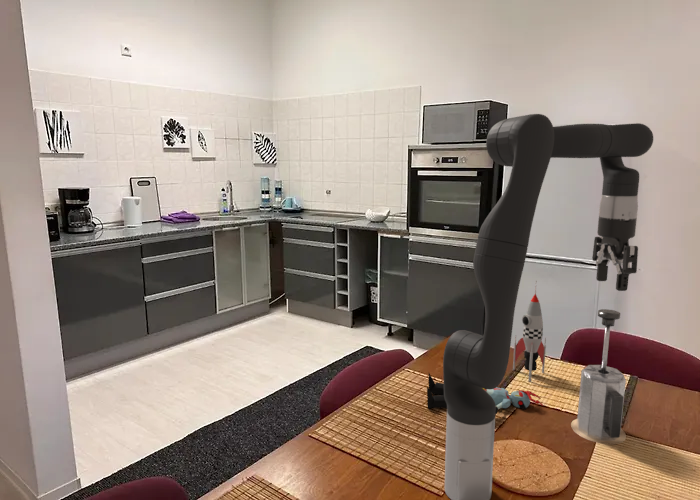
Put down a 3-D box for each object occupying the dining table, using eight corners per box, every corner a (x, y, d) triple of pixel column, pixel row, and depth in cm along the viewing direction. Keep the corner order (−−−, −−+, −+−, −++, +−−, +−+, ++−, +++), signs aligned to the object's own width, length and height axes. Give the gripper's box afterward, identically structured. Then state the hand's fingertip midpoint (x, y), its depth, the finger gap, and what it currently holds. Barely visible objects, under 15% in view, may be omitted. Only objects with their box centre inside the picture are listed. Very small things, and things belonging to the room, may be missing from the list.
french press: (634, 447, 112) (641, 385, 110) (593, 447, 112) (599, 386, 110) (607, 420, 124) (613, 363, 121) (570, 420, 124) (574, 364, 121)
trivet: (636, 446, 114) (636, 443, 114) (585, 446, 114) (585, 444, 114) (609, 419, 126) (609, 417, 125) (562, 419, 126) (562, 417, 125)
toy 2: (510, 369, 155) (516, 277, 150) (533, 366, 158) (539, 275, 152) (529, 382, 147) (535, 285, 141) (552, 378, 149) (559, 282, 144)
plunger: (622, 391, 114) (630, 316, 111) (595, 391, 114) (602, 316, 111) (608, 379, 121) (615, 308, 117) (582, 379, 121) (588, 308, 117)
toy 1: (429, 359, 148) (534, 362, 142) (430, 383, 150) (534, 387, 144) (425, 399, 124) (551, 405, 118) (426, 427, 125) (551, 434, 119)
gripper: (585, 212, 117) (580, 278, 120) (618, 219, 103) (611, 294, 106) (616, 212, 117) (610, 277, 120) (653, 219, 103) (645, 293, 106)
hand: (611, 285), depth 113 cm, fingers open, 8 cm apart
